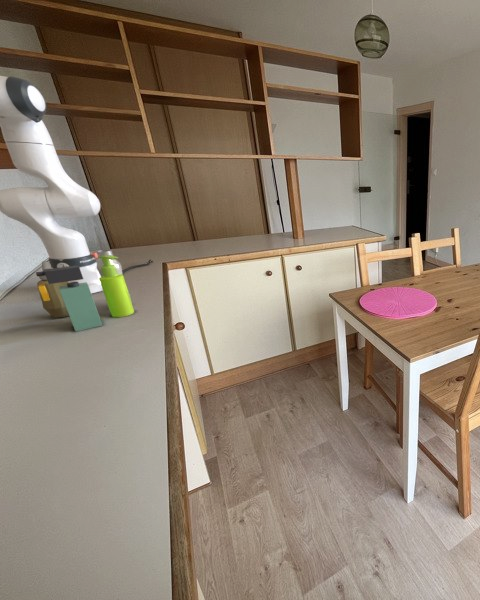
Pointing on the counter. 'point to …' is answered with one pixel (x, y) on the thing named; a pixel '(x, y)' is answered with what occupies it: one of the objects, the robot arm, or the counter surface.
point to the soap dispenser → (115, 289)
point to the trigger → (44, 292)
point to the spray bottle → (74, 296)
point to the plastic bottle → (113, 262)
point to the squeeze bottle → (53, 295)
